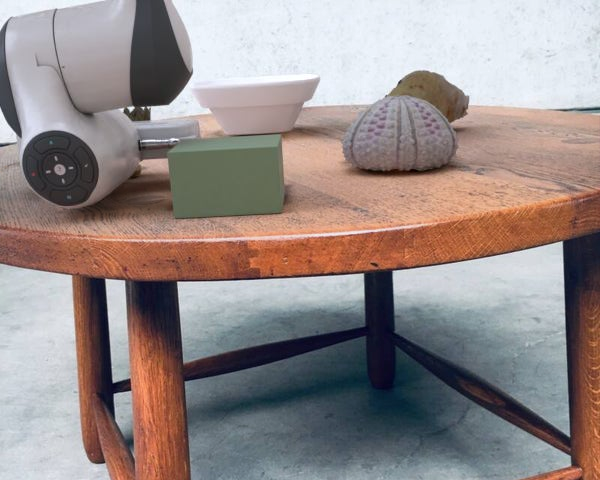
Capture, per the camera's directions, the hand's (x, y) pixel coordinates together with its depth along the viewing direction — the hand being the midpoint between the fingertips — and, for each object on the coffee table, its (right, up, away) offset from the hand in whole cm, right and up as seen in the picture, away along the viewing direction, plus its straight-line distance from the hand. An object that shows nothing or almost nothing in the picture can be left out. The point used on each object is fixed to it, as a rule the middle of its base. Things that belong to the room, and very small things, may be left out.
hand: (123, 133), depth 109 cm
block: (+15, -13, -22) cm, 29 cm away
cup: (0, -5, +1) cm, 5 cm away
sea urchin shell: (+33, -6, -5) cm, 34 cm away
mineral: (+38, +5, +21) cm, 43 cm away
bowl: (+15, +10, +37) cm, 41 cm away
